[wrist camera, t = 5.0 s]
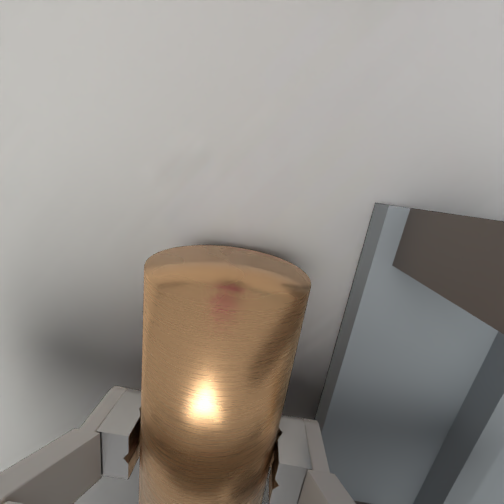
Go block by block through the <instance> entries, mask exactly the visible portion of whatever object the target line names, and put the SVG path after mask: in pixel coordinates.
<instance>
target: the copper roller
mask: <svg viewBox="0 0 504 504" xmlns="http://www.w3.org/2000/svg"><path fill="white" fill-rule="evenodd" d="M310 288H311V282H310V279H309V277H308V276H307V274H306V273H305V272H304V271H302V270H301V269H300V268H298V267H297V266H295V265H293V264H292V263H290V262H288V261H285V260H283V259H281V258H278V257H275V256H272V255H269V254H266V253H262V252H258V251H254V250H249V249H244V248H237V247H230V246H218V245H192V246H182V247H175V248H170V249H167V250H163V251H160V252H158V253H156V254H154V255H152V256H151V257H150V258H149V259H148V260H147V261H146V263H145V265H144V302H143V344H142V386H141V428H140V470H139V504H261V503H262V499H263V494H264V490H265V485H266V481H267V477H268V472H269V468H270V463H271V459H272V455H273V450H274V446H275V442H276V437H277V433H278V428H279V424H280V420H281V415H282V411H283V406H284V402H285V398H286V393H287V389H288V385H289V380H290V376H291V371H292V367H293V363H294V358H295V354H296V349H297V345H298V341H299V336H300V332H301V328H302V323H303V319H304V314H305V310H306V306H307V301H308V297H309V292H310Z"/></svg>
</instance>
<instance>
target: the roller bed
mask: <svg viewBox="0 0 504 504" xmlns="http://www.w3.org/2000/svg"><path fill="white" fill-rule="evenodd" d="M315 420H317V421H318V423H319V427H320V431H321V435H322V440H323V444H324V449H325V453H326V457H327V462H328V466H329V470H330V473H332V474H335V475H336V477H337V478H338V479H339V481H340V482H341V484H342V485H343V486H344V488H345V489H346V491H347V492H348V493H349V495H350V496H351V497H352V499H353V500H354V502H355V503H356V504H504V222H503V221H496V220H489V219H482V218H475V217H468V216H461V215H454V214H447V213H441V212H434V211H427V210H420V209H413V208H406V207H399V206H392V205H385V204H378V203H375V207H374V210H373V214H372V217H371V221H370V225H369V228H368V232H367V235H366V239H365V242H364V246H363V249H362V253H361V257H360V260H359V264H358V267H357V271H356V274H355V278H354V282H353V285H352V289H351V292H350V296H349V299H348V303H347V307H346V310H345V314H344V317H343V321H342V324H341V328H340V331H339V335H338V339H337V342H336V346H335V349H334V353H333V356H332V360H331V364H330V367H329V371H328V374H327V378H326V381H325V385H324V389H323V392H322V396H321V399H320V403H319V406H318V410H317V413H316V417H315Z"/></svg>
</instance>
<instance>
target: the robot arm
mask: <svg viewBox="0 0 504 504" xmlns="http://www.w3.org/2000/svg"><path fill="white" fill-rule="evenodd" d="M140 428H141V391H140V390H135V389H130V388H124V387H119V386H114V387H113V388H111V389H110V390H109V391H108V393H107V394H106V395H105V397H104V398H103V399H102V400H101V402H100V403H99V404H98V405H97V407H96V408H95V409H94V410H93V412H92V413H91V414H90V415H89V417H88V418H87V419H86V421H85V422H84V423H83V424H82V426H81V427H80V428H79V429H76V428H74V429H72V430H71V431H69V432H67V433H66V434H64V435H62V436H61V437H59V438H57V439H56V440H54V441H52V442H51V443H49V444H47V445H46V446H44V447H43V448H41V449H39V450H38V451H36V452H34V453H33V454H31V455H29V456H28V457H26V458H24V459H23V460H21V461H19V462H18V463H16V464H14V465H13V466H11V467H9V468H8V469H6V470H4V471H3V472H1V473H0V504H73V503H74V502H76V501H77V500H78V499H79V498H80V497H81V496H82V495H83V494H84V493H85V492H86V491H88V490H89V489H90V488H91V487H92V486H93V485H94V484H95V483H96V482H97V481H98V480H99V479H101V476H108V477H115V478H122V479H129V477H130V475H131V473H132V471H133V469H134V466H135V464H136V462H137V460H138V458H139V455H140ZM270 467H271V471H270V475H269V504H356V503H355V502H354V500H353V499H352V497H351V496H350V495H349V493H348V492H347V491H346V489H345V488H344V486H343V485H342V484H341V482H340V481H339V479H338V478H337V477H336V475H335V474H332V473H330V470H329V466H328V462H327V457H326V453H325V449H324V444H323V440H322V435H321V431H320V427H319V423H318V421H317V420H311V419H305V418H300V417H294V416H288V415H281V420H280V424H279V428H278V433H277V437H276V442H275V446H274V450H273V455H272V459H271V463H270Z"/></svg>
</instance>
